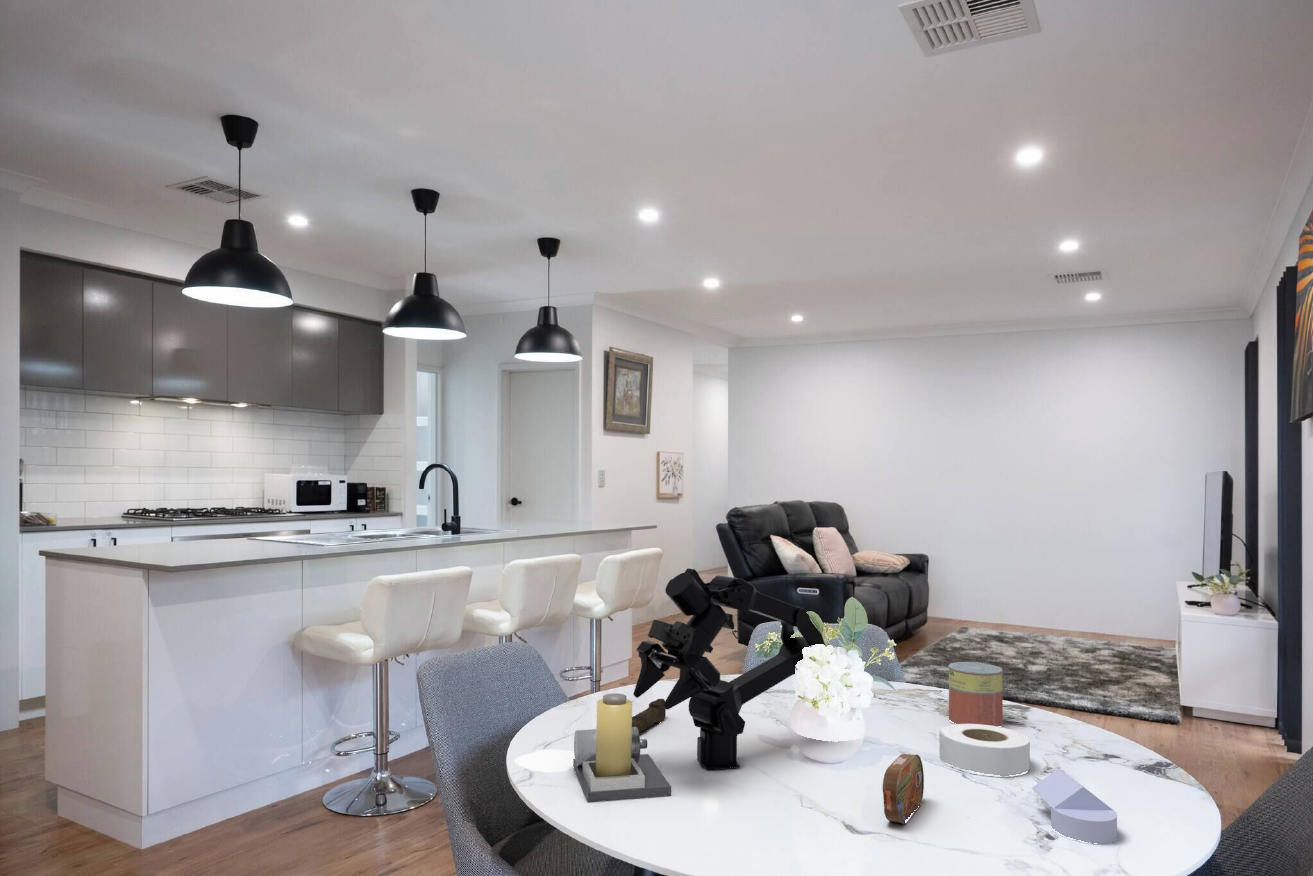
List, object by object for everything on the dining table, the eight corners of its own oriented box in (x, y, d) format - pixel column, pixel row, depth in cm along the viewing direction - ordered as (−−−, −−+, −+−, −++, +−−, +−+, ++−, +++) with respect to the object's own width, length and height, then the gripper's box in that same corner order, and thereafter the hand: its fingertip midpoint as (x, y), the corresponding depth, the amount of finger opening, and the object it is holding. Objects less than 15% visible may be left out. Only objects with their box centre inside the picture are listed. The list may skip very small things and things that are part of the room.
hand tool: (633, 742, 170) (633, 719, 170) (616, 739, 172) (616, 716, 172) (676, 719, 187) (676, 698, 187) (660, 717, 189) (660, 696, 189)
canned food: (957, 712, 195) (956, 659, 195) (1008, 721, 188) (1008, 666, 189) (941, 723, 186) (941, 668, 186) (995, 733, 179) (995, 675, 180)
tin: (899, 832, 128) (899, 775, 129) (879, 827, 130) (879, 771, 130) (925, 800, 141) (925, 749, 141) (906, 796, 143) (906, 745, 143)
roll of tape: (935, 748, 170) (935, 719, 170) (1020, 754, 166) (1020, 725, 166) (945, 774, 154) (945, 743, 154) (1038, 782, 151) (1038, 750, 151)
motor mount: (648, 762, 158) (648, 721, 158) (671, 795, 142) (671, 750, 142) (573, 767, 155) (573, 725, 155) (587, 802, 138) (588, 755, 139)
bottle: (633, 775, 147) (635, 693, 148) (627, 787, 141) (629, 701, 142) (599, 773, 148) (601, 691, 148) (591, 785, 142) (593, 699, 142)
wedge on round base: (1031, 809, 138) (1066, 843, 125) (1030, 767, 138) (1066, 797, 125) (1087, 810, 138) (1129, 845, 125) (1087, 768, 138) (1128, 798, 125)
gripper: (645, 597, 161) (594, 663, 154) (707, 610, 145) (654, 684, 138) (678, 635, 165) (630, 701, 158) (742, 651, 150) (692, 725, 143)
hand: (649, 702), depth 149 cm, fingers open, 9 cm apart
